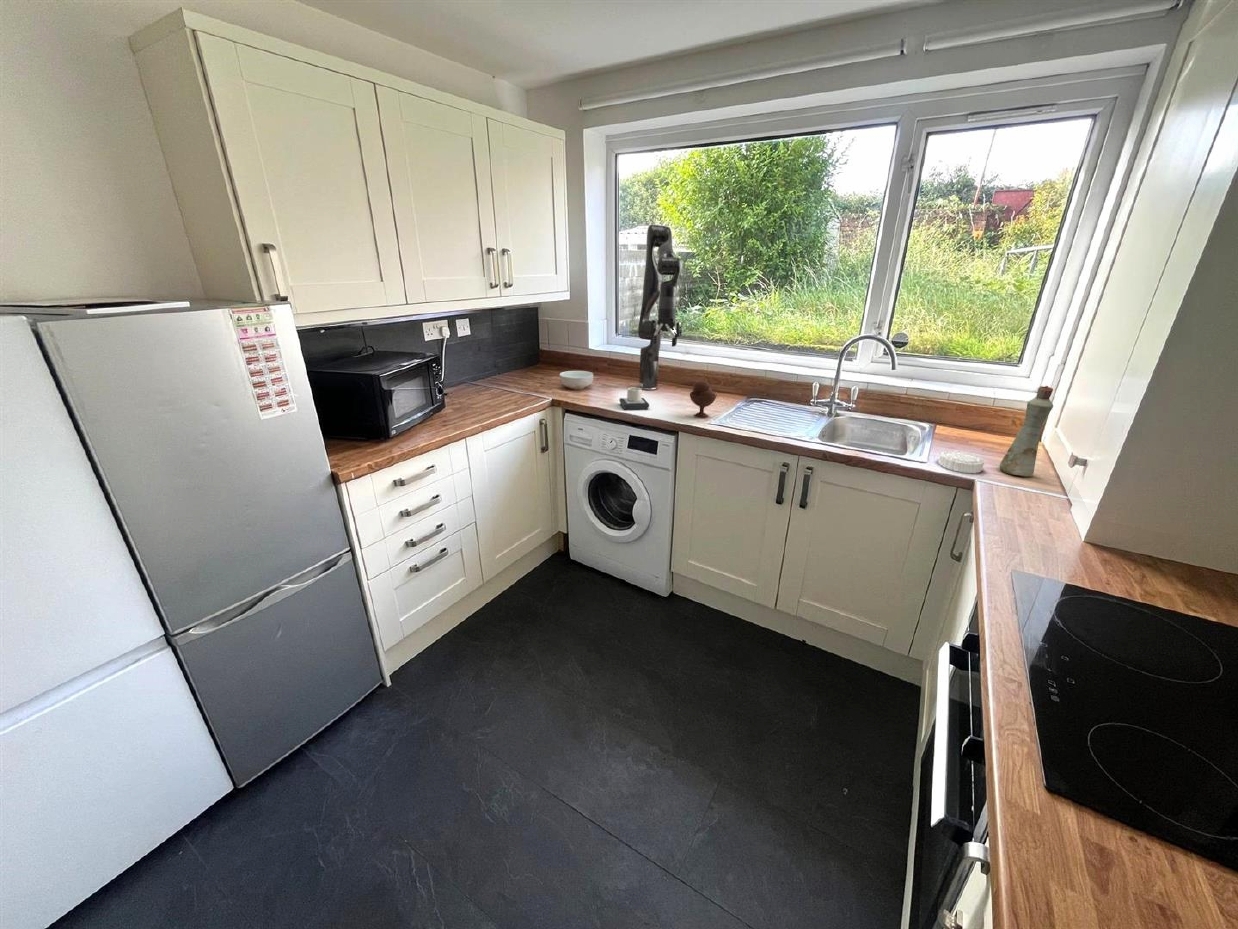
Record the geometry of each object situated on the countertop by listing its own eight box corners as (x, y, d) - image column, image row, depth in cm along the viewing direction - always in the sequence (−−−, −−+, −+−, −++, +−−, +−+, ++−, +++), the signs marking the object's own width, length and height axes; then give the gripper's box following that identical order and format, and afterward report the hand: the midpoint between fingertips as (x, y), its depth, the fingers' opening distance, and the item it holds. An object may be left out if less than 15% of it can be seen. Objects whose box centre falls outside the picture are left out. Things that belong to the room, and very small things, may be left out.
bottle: (1003, 475, 155) (1033, 386, 144) (994, 465, 163) (1022, 381, 152) (1036, 480, 152) (1070, 390, 142) (1026, 470, 160) (1057, 384, 150)
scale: (619, 403, 222) (619, 398, 221) (643, 403, 224) (643, 397, 223) (624, 410, 212) (624, 404, 211) (648, 409, 214) (649, 404, 213)
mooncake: (985, 476, 154) (988, 465, 152) (940, 469, 158) (943, 458, 157) (977, 463, 164) (980, 453, 163) (935, 457, 168) (938, 447, 167)
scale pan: (623, 401, 220) (623, 398, 220) (640, 401, 222) (640, 397, 221) (626, 406, 213) (627, 402, 213) (645, 405, 215) (645, 402, 214)
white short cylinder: (625, 398, 219) (626, 387, 217) (639, 398, 220) (639, 387, 219) (628, 402, 214) (629, 390, 212) (642, 401, 215) (643, 390, 213)
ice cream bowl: (716, 420, 202) (720, 383, 197) (689, 419, 202) (692, 382, 197) (712, 413, 212) (716, 378, 207) (686, 412, 212) (689, 377, 207)
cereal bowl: (564, 383, 258) (564, 369, 255) (595, 385, 256) (596, 371, 253) (555, 390, 242) (555, 375, 239) (589, 392, 240) (589, 378, 237)
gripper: (648, 306, 216) (647, 344, 222) (677, 308, 208) (675, 348, 214) (657, 305, 221) (655, 342, 228) (686, 307, 214) (683, 345, 220)
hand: (665, 345), depth 221 cm, fingers open, 8 cm apart
